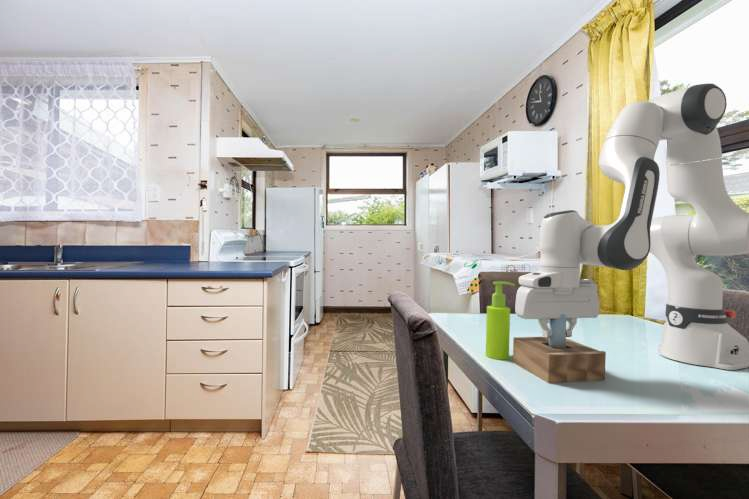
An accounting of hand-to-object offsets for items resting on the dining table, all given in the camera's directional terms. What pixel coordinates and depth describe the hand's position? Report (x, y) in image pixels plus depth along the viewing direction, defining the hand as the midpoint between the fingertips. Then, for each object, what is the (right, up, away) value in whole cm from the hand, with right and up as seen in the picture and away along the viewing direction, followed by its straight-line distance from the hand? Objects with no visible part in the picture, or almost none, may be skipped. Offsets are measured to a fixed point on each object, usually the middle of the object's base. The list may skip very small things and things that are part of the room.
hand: (557, 336), depth 87 cm
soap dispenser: (-10, -8, +10) cm, 17 cm away
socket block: (0, -8, 0) cm, 8 cm away
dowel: (0, -4, 0) cm, 4 cm away
